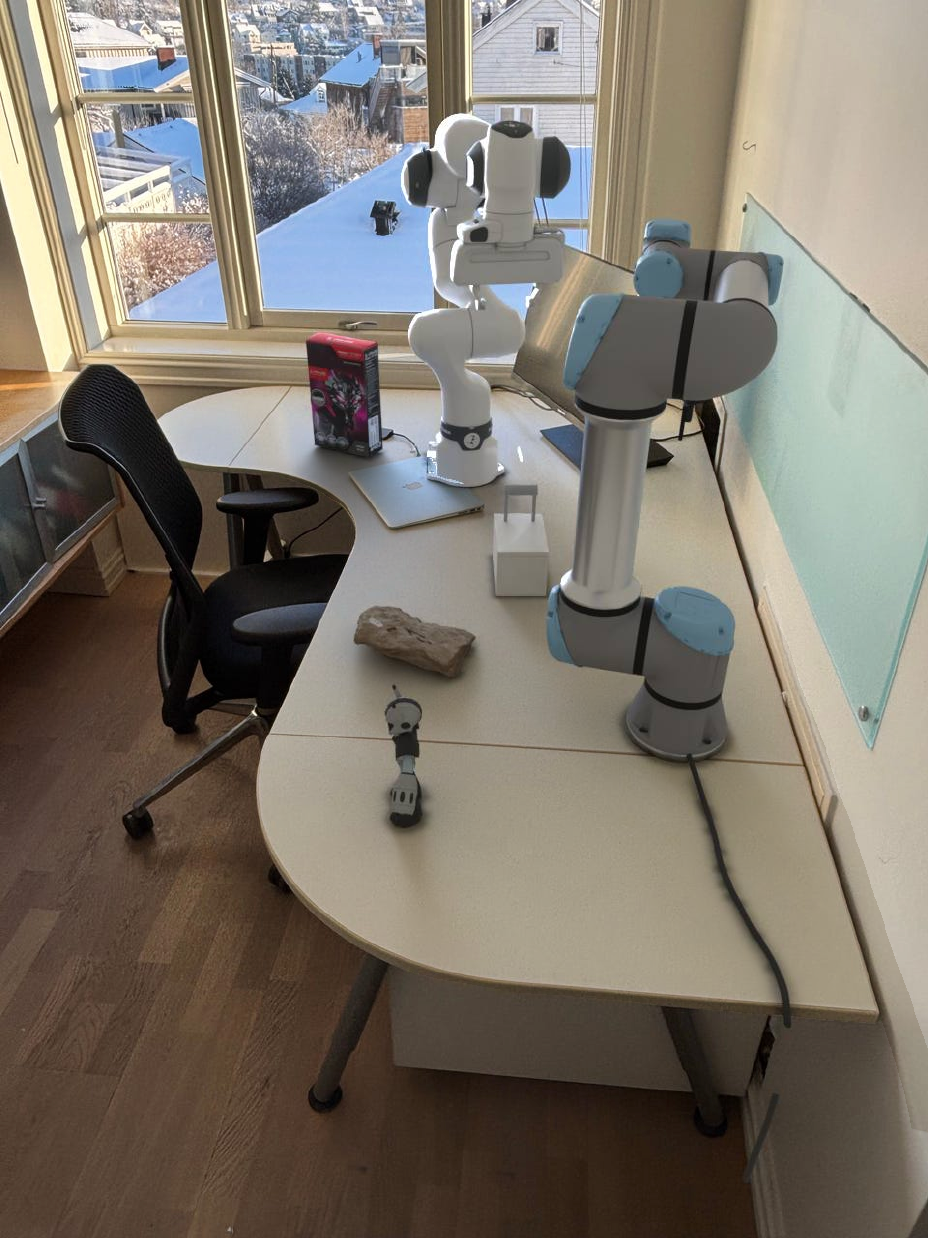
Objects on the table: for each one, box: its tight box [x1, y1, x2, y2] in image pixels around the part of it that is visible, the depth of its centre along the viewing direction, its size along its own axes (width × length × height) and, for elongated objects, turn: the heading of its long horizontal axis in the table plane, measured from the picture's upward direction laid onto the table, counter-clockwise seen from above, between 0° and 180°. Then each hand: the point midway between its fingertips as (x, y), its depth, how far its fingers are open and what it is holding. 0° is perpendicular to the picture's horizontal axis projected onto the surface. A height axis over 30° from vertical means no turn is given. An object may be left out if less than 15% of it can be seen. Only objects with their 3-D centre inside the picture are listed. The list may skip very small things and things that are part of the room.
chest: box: [492, 522, 550, 597], centre depth 179 cm, size 15×10×9 cm, turn 1°
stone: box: [353, 605, 477, 679], centre depth 158 cm, size 21×15×6 cm
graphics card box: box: [305, 331, 384, 458], centre depth 224 cm, size 17×7×27 cm, turn 62°
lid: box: [493, 483, 550, 557], centre depth 174 cm, size 16×10×9 cm, turn 1°
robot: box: [383, 684, 423, 828], centre depth 123 cm, size 20×5×20 cm, turn 3°
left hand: (505, 308), depth 168 cm, fingers open, 8 cm apart
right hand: (643, 434), depth 170 cm, fingers open, 13 cm apart
